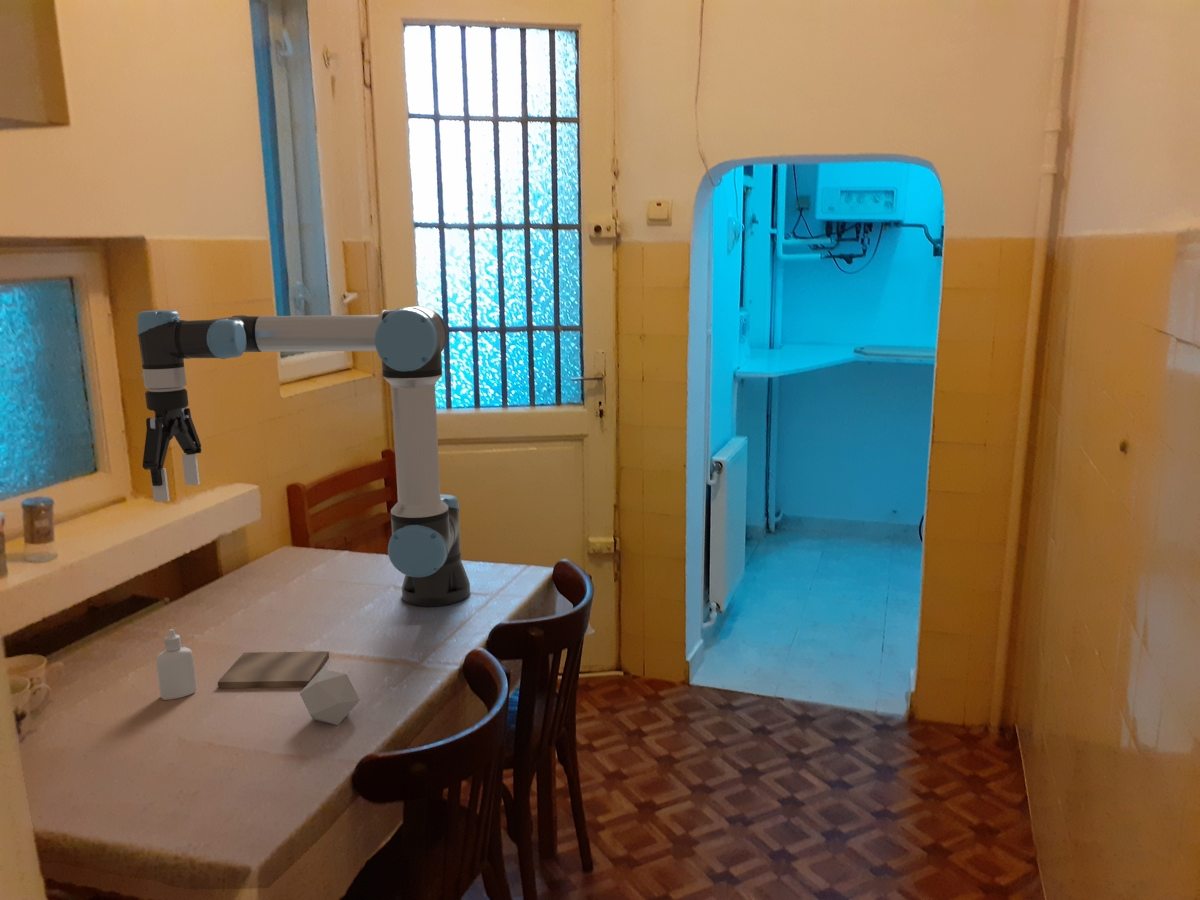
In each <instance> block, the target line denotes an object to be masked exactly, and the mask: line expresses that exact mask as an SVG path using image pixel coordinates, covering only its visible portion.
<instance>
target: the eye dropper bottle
mask: <svg viewBox="0 0 1200 900" xmlns="http://www.w3.org/2000/svg"><path fill="white" fill-rule="evenodd" d="M163 641H164V646H165V647H164V648H165V649H164V650H163V651H162V652H160V653H158V654H157V656H156V658H155V659H156V660H155V661H156V670H157V671H156V672H157V679H158V687H159V695H160V697H161V699H162V701H163V700H164V701H169V700H177V699H181V698H184V697H187V696H190V695H192V694H194V693H196V691H197V680H196V679H197V678H196V672H195V671H196V670H195V662H194V656H193V651H192V650H191V649H190V648H189V647H186V646H182V641H181V636H180V635H179V634H176V632H175V629H174V628H171V629H168V635H167V636H166V637H164V640H163Z"/></svg>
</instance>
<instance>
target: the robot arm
mask: <svg viewBox="0 0 1200 900" xmlns="http://www.w3.org/2000/svg"><path fill="white" fill-rule="evenodd" d="M136 321H137V333H136V334H137V337H138V342H139V343H138V344H139V350H140V358H141V367H142V373H141V377H142V378H143V384H144V388H145V389H147V390H146V392H145V394H144V395H145V404H146V405H145V406H146V409H147V410H149V411H153V412H154V417H147V418H146V420H145V423H146V426H145V427H146V433H145V441H144V449H143V457H142V468H143V469H144V470H145V471H146V470H147V471H148V470H150V481H151V488H152V495H153V502H155V503H156V502H159V503H160V502H169V501H170V492H169V483H168V475H167V468H166V467H164V464H165V460H166V457H167V452H168V448H169V444H170V441H171V440H172V439H174V438H175V440H176V442H177V443H178V445H179V446H180V448H181V450H182V451H183V453H184V454H182V455H181V459H182V466H183V467H182V469H183V475H184V476H183V477H184V485H185V486H199V485H200V483H201V482H200V474H199V465H198V456H197V455H198V454H201V453H202V444H201V441H200V438H199V436H198V433H197V430H196V427H195V424H194V422H193V419H192V415H191V409H190V407H189V397H188V390H187V389H186V388H185V387H186V386H187V376H186V368H185V367H186V366H185V362H184V360H185V359H187V360H189V359H220V360H226V359H234V358H239V357H242V355H243V354H244V353H262V352H263V353H267V352H268V353H269V352H273V353H274V352H279V353H281V352H282V353H284V352H290V353H291V352H295V353H296V352H377V355H378V356H379V358H380V359H381V369H382V371H381V372H382V378H383V379H384V380H385V381H386V382H387V383H389V385H390V387H391V404H392V420H393V421H392V422H393V440H394V455H395V457H394V458H395V473H396V475H395V476H396V488H397V489H396V490H397V502H396V503H395V504H394V505H393V507H392V508H391V509H390V518H391V519H390V520H391V536H390V537H389V541H388V544H387V545H388V546H387V555H388V557H389V561H390V562H391V564H392V565H393V567H394V568H395V569H396V570H398V571H399V572H400V573H401V574H403V575H404V578H403V582H402V586H401V597H402V600H403V601H404V602H406V603H407V604H409V605H413V606H418V607H440V606H441V607H442V606H447V605H452V604H456V603H458V602H461V601H463V600H464V599H466V598H468V597H469V595H470V593H471V583H470V580H469V577H468V574H467V572H466V570H465V569H466V568H465V567H464V564H463V561H462V554H461V551H462V549H461V531H460V530H461V527H460V511H461V508H460V506H459V505H460V504H459V500H458V498H457V496H455V495H452V494H444V493H443V494H442V493H441V482H440V481H441V480H440V478H441V477H440V462H439V460H440V458H439V443H438V442H439V441H438V440H439V439H438V421H437V420H438V419H437V398H436V384H437V382H438V381H439V380H440V379H441V378H442V376H443V362H442V361H443V360H442V359H443V358H442V352H443V350H444V349H445V347H446V344H447V341H448V328H447V325H446V322H445V320H444V319H443V317H442V316H441V314H439V313H438V312H437V311H435V310H434V309H433V308H430V307H427V306H423V305H413V306H407V307H399V308H396V309H383V310H382V311H381V312H380V313H379V314H358V315H357V314H356V315H355V314H353V315H352V314H347V315H346V314H345V315H344V314H343V315H342V314H340V315H339V314H337V315H335V314H334V315H330V314H329V315H327V314H326V315H260V316H254V315H253V316H250V315H246V314H244V315H242V314H240V315H232V316H229V317H223V318H222V317H221V318H213V319H199V320H198V319H197V320H195V319H194V320H185V319H181V317H180V314H179V312H178V311H177V310H174V309H173V310H172V309H171V310H170V309H169V310H168V309H167V310H163V309H162V310H157V309H156V310H143V311H140V312H138V314H137V316H136Z"/></svg>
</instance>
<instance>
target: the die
mask: <svg viewBox="0 0 1200 900" xmlns="http://www.w3.org/2000/svg"><path fill="white" fill-rule="evenodd" d="M299 695H300V697H301V699H302V701H303V702H302V703H304V705H305V708H306V709H307V712H308V714H309V716H310V718H312V720H315V721H319V722H322V723H328V724H331V725H335V726H339V725H340V724H341V723H342V721H343V720H344V719H345V718H346V717H347V716H348V715H349V713H350V712H351V711H352V710H353V708H354V707H355V706H356V705H357V704H358V703H359V702H360V698H359V696H358V694H357V692H356V690H355V688H354V686H353V683H352V682H351V679H350V678H349V676H348V673H345V672H339V671H334V670H330V669H326V668H322V669H321V670H320V671H319V672H318V673H317V675H316V676H315V677H314V678H313V679H312V680H311V681H310V682H309V683H308V685H307V686H306V687H303V688H302V690H301V691H300V692H299Z"/></svg>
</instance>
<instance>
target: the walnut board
mask: <svg viewBox="0 0 1200 900" xmlns="http://www.w3.org/2000/svg"><path fill="white" fill-rule="evenodd" d="M329 658H330V652H329V651H327V650H326V651H325V650H324V651H267V652H266V651H265V652H262V651H259V652H258V651H256V652H243V653H242V654H241V655H240V656H239V657H238V658H237V659H236V660H235V662H234V663H233V664H232V665H231V666H230V668H228V670H227V671H226V672H225V673H224V674H223V675H222V676H221V678H219V680H218V681H217V688H218V689H260V688H261V689H262V688H263V689H264V688H266V689H267V688H277V689H278V688H305V687H306V686H307V685H308V683H309V682H310V681H311V680H312V679H313V678H314V677H315V676H316V675H317V673H318V672H319V671H320V670H321V669H323V668H324V666H325V664H326V663H327V661H328V659H329Z"/></svg>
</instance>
